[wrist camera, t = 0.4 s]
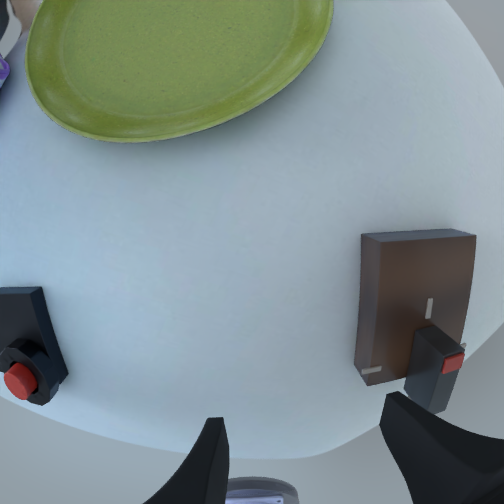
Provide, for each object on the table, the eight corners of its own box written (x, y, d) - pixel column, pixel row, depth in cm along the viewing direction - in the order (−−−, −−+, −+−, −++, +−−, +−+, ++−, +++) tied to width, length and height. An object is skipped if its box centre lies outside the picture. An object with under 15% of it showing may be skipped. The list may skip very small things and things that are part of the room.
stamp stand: (434, 373, 22) (452, 391, 18) (342, 395, 21) (354, 420, 18) (457, 228, 19) (483, 235, 16) (352, 234, 19) (372, 243, 16)
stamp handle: (422, 383, 18) (446, 412, 14) (403, 388, 18) (425, 420, 14) (435, 325, 17) (467, 350, 13) (415, 329, 17) (445, 357, 13)
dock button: (30, 364, 17) (18, 375, 15) (42, 391, 17) (32, 402, 16) (10, 360, 17) (-1, 370, 15) (21, 386, 17) (11, 397, 16)
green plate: (186, 215, 18) (174, 221, 15) (11, 73, 15) (-12, 64, 12) (373, 9, 15) (390, -11, 12) (175, -84, 12) (170, -104, 9)
